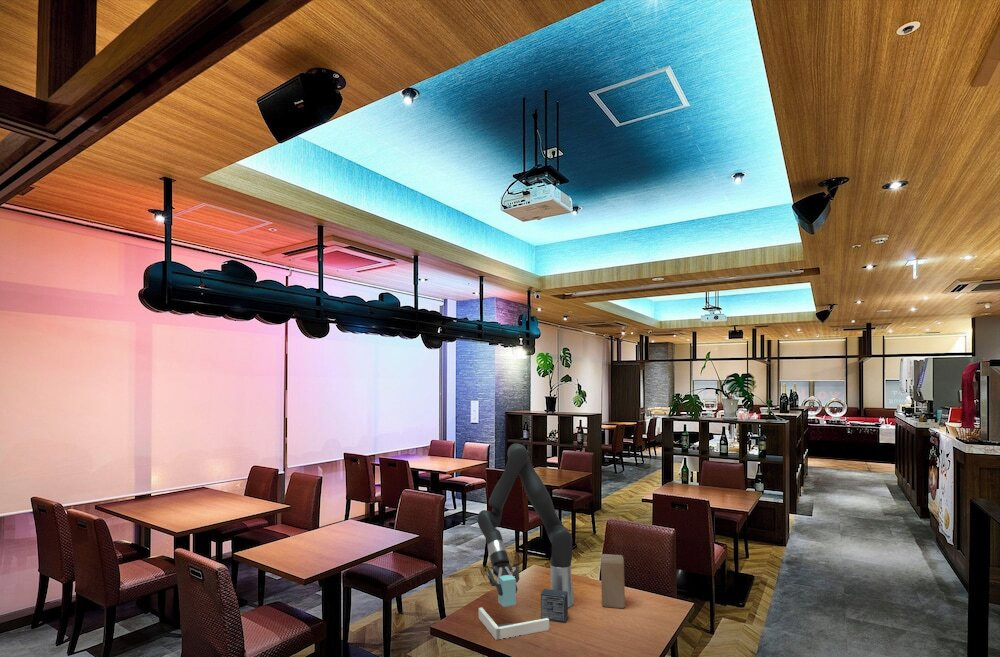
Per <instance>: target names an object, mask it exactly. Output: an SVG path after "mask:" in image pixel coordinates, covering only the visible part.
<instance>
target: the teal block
mask: <svg viewBox="0 0 1000 657" xmlns="http://www.w3.org/2000/svg"><path fill="white" fill-rule="evenodd" d="M512 575H513V574H512ZM512 575H503V576H501V577H499V580H500V585H501V588H502V592H503V595H502V596H500V595H499V594H498V593H497V601H498V604H500V605H501V606H502V607H504V608H505V607H511V606H516V605H517V600H516V599H517V597H516V596H517V593H516V585H517V583H516V579H515V576H514V575H513V576H512Z"/></svg>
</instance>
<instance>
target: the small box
mask: <svg viewBox="0 0 1000 657" xmlns="http://www.w3.org/2000/svg"><path fill="white" fill-rule="evenodd" d="M540 616H541V617H540V619H544V618H548V619H549V622H551V621H552V622H557V623H558V622H559V623H563V624H564V623H566V621H567V620H568V618H569V607H568V592H567V591H558V590H551V588H550V589H549V588H544V589H542V591H541V593H540Z"/></svg>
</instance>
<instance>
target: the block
mask: <svg viewBox="0 0 1000 657" xmlns="http://www.w3.org/2000/svg"><path fill="white" fill-rule="evenodd" d="M600 570H601V571H600V576H601V577H600V580H601V583H600V584H601V586H600V587H601V606H602V607H605V608H617V609H624V608H625V607H626V595H625V594H626V593H625V591H626V590H625V560H624V556H623V555H622V554H611V553H610V554H608V553H603V554H601V555H600Z"/></svg>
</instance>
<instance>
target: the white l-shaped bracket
mask: <svg viewBox="0 0 1000 657" xmlns="http://www.w3.org/2000/svg"><path fill="white" fill-rule="evenodd" d="M478 620H480V622H481V623H482V624H483V626H484V627H485V628H486V629H487V631H488V632H489V633H490V635H491V636H492V637H493V638H494V639H495V641H499V640H498V639H501V640H504V639H503V638H506V639H510V638H509V637H511V638H516V637H520V636H519V635H521V636H525V635H531V634H535V633H537V634H538V633H540V632H546V631H547V632H548V631H549V630H550V621H549V619H548V618H544V619H541V618H540V619H535V620H530V621H529V620H528V621H523V622H518V623H513V622H512V621H511V622H505V623H501V624H497V623H496V622H495V621H494V619H493V618H492V617H491V616H490V615H489V614H488V613H487V611H486V610H485V609H484V607H478ZM515 636H516V637H515Z"/></svg>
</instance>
